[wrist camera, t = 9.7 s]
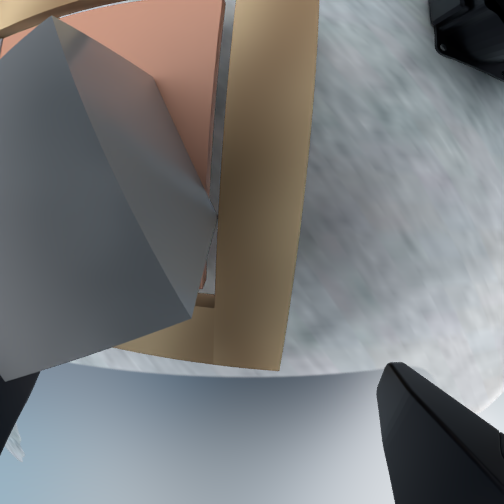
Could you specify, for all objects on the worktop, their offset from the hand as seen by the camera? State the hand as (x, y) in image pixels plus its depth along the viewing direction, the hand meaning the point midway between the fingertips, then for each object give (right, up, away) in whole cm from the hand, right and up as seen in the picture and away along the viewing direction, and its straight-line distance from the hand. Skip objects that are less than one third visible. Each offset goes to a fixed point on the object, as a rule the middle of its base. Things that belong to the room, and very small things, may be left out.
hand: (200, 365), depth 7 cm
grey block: (-3, +5, +2) cm, 6 cm away
